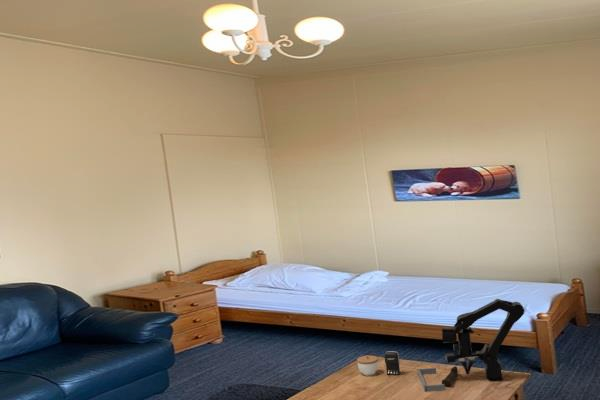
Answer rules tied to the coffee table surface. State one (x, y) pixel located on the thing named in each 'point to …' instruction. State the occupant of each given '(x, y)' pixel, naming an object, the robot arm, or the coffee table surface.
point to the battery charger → (392, 363)
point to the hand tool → (450, 377)
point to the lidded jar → (368, 365)
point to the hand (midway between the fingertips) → (467, 374)
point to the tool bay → (429, 387)
